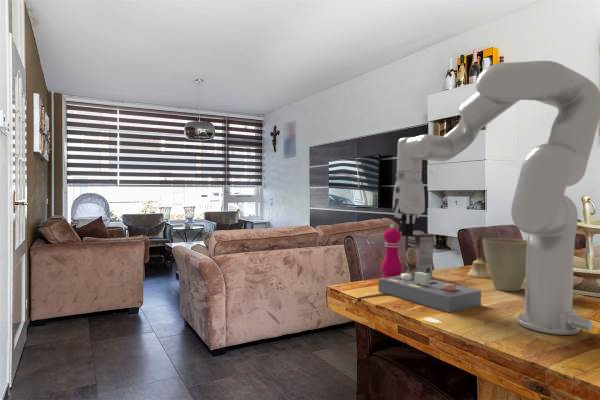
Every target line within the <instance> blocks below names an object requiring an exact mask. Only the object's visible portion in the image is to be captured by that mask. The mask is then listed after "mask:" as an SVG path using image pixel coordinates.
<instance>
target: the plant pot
mask: <svg viewBox="0 0 600 400" xmlns="http://www.w3.org/2000/svg"><path fill="white" fill-rule="evenodd" d="M527 240H528V239H519V238H518V239H517V238H504V237H503V238H496V237H495V238H494V237H493V238H491V237H490V238H489V237H488V238H483V252H484V253H483V254H484V258H485V263H486V268H487V271H488V273H489V274H490V279H491V281H492V284H493V288H494V289H496V290H498V291H499V290H500V291H503V292H504V291H505V292H519V291H520V290H521V288H522V286H523V285H524V281H525V277H526V248H527Z"/></svg>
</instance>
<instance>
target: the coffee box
mask: <svg viewBox="0 0 600 400" xmlns="http://www.w3.org/2000/svg"><path fill="white" fill-rule="evenodd" d="M404 249H405V250H404V252H405V256H404V273H407V274H411V275H415V272H423V273H427V274H430V278H431V279H433V265H434V263H433V260H434V259H433V257H434V234H429V233H424V232H415V231H413V236H412V237H407V236H405V248H404Z"/></svg>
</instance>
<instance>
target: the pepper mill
mask: <svg viewBox="0 0 600 400" xmlns="http://www.w3.org/2000/svg"><path fill="white" fill-rule="evenodd" d="M401 238H402V233H401V232H400V230H398V229H397V228H396V225H395V224H393V223H392V224H390V225H389V228H388V229H386V230H385V231H384V232H383V239H384V240H385V242H384V247H385V256H384V258H383V261H382V263H381V267H380V268H381V271H382V273H383V274H382V278H386V277H393V276H400V275H401V274H402V272H403V265H402V262H401V260H400V258H399V251H398V249H399V247H400V240H401Z"/></svg>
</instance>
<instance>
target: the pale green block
mask: <svg viewBox="0 0 600 400" xmlns="http://www.w3.org/2000/svg"><path fill="white" fill-rule="evenodd" d="M415 283H416V284H420V286H427V285H430V274H427V273H423V272H415Z"/></svg>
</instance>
